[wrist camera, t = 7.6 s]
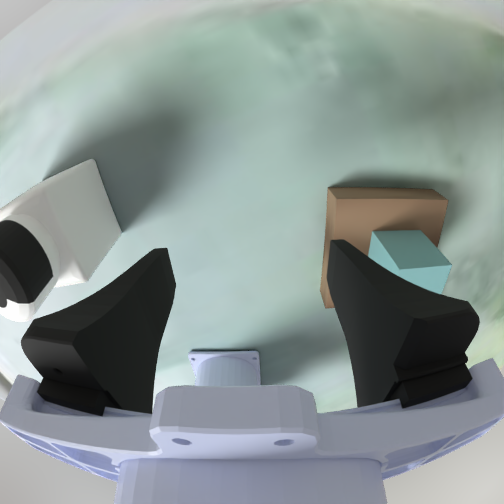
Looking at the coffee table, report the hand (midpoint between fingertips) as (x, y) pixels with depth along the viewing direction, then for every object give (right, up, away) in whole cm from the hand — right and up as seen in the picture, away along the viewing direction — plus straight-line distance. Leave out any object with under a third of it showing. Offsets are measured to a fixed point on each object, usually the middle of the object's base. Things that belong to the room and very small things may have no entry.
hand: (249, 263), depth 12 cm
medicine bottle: (-15, +5, +9) cm, 18 cm away
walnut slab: (+11, +2, +11) cm, 16 cm away
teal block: (+12, 0, +9) cm, 14 cm away
